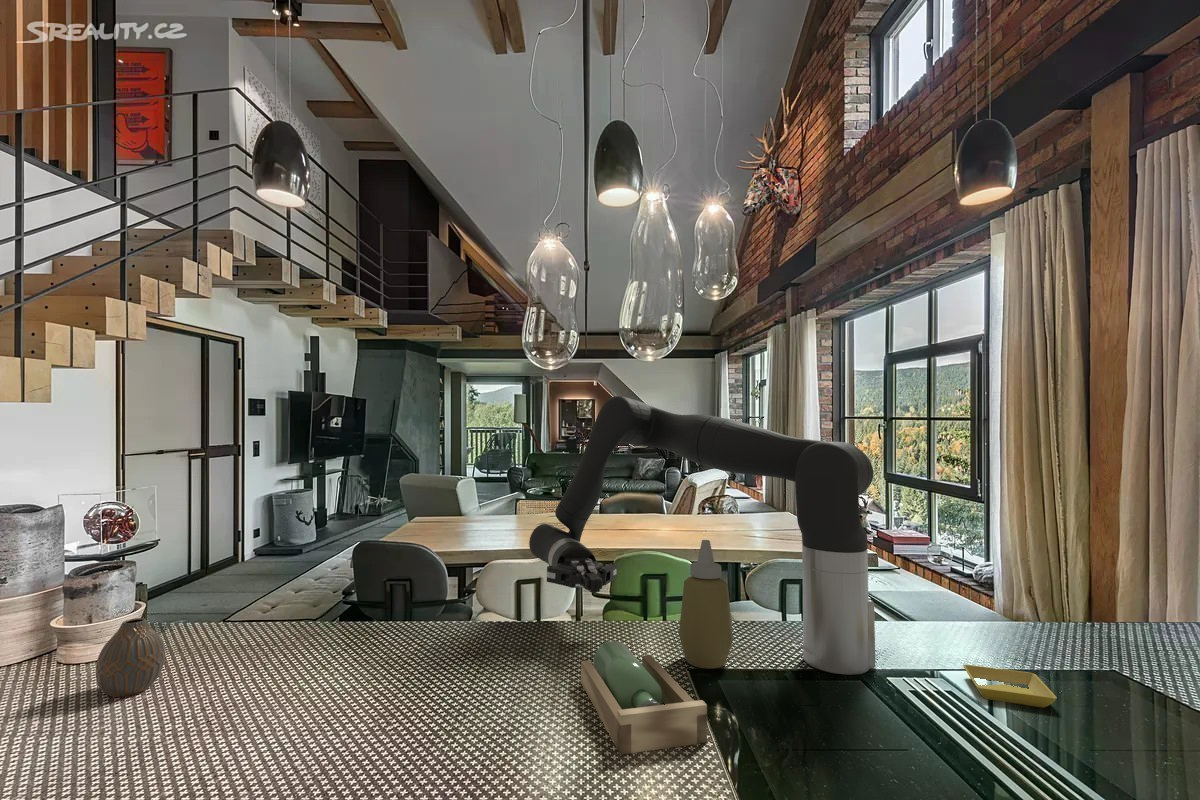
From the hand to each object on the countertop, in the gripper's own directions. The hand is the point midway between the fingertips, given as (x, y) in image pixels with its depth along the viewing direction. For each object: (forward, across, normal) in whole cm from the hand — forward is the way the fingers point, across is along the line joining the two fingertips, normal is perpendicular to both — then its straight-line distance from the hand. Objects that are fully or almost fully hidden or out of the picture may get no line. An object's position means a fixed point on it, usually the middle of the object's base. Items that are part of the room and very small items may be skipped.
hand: (595, 585), depth 89 cm
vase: (-2, -62, +11) cm, 63 cm away
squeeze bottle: (+8, +15, +10) cm, 20 cm away
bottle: (+10, 0, +8) cm, 13 cm away
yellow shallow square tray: (+27, +50, +10) cm, 58 cm away
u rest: (+20, 0, +10) cm, 22 cm away
